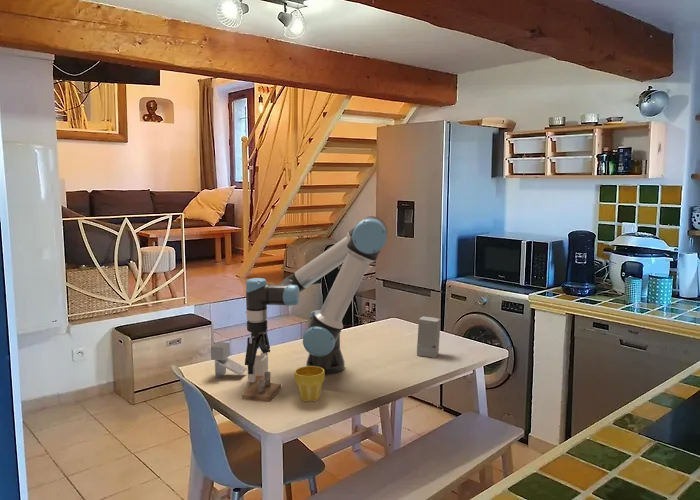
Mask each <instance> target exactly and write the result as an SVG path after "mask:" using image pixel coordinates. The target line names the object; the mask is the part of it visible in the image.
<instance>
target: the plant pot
mask: <svg viewBox="0 0 700 500" xmlns="http://www.w3.org/2000/svg"><path fill="white" fill-rule="evenodd" d="M325 375H326V374H325V371H324V369H323V368H321V367H317V366H300V367H298V368H296V369H295V370H294V375H293V376H294V382H295V383H296V385H297V389H298V393H299V397H300V400H301V401H304V402H306V403H307V402H315V401H318V400H319V399H320V397H321V392H322V388H323V383H324V381H325V378H326V377H325Z"/></svg>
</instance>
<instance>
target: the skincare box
mask: <svg viewBox="0 0 700 500" xmlns="http://www.w3.org/2000/svg"><path fill="white" fill-rule="evenodd" d="M441 320H442V319H441V318H437V317H432V316H421V317H419V319H418V328H417V329H418V330H417V342H416V343H417V344H416V356H419V357H426V358H433V359H435V358H436V357H437V356H438V355H439V350H440V336H441V335H440V334H441V332H440V331H441Z"/></svg>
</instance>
